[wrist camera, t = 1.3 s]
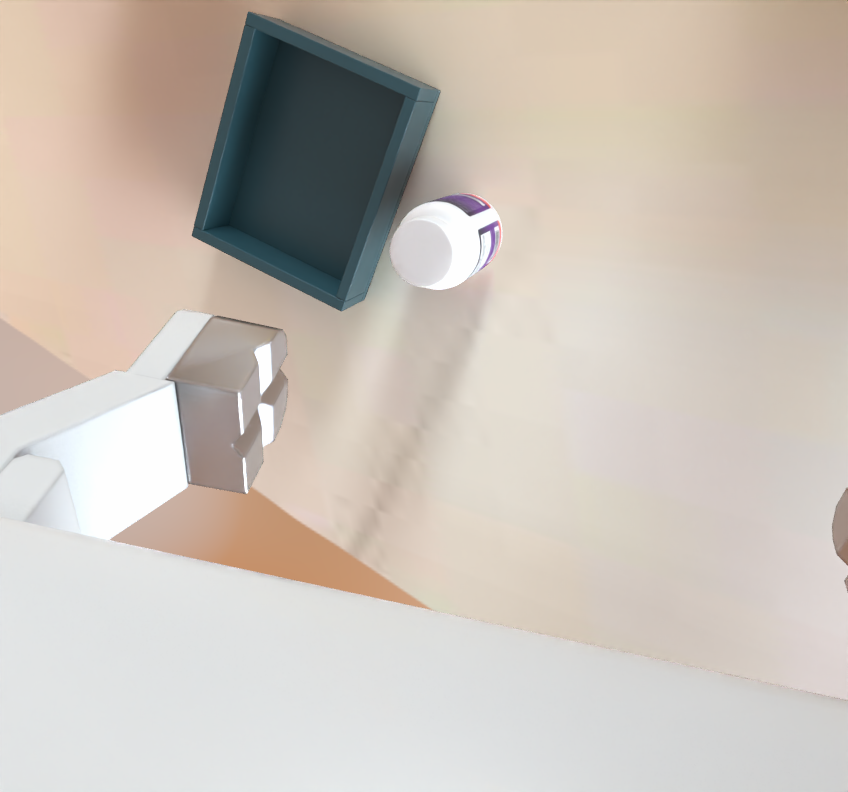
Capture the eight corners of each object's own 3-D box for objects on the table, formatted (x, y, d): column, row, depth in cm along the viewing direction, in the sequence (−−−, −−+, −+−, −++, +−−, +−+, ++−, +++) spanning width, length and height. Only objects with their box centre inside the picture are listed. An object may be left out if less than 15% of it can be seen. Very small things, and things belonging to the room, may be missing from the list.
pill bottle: (414, 221, 55) (360, 239, 46) (476, 176, 53) (431, 186, 44) (456, 286, 56) (410, 315, 47) (519, 244, 53) (483, 268, 45)
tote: (278, 19, 54) (247, 11, 50) (440, 90, 52) (421, 88, 48) (222, 229, 60) (191, 236, 57) (364, 300, 58) (341, 312, 55)
